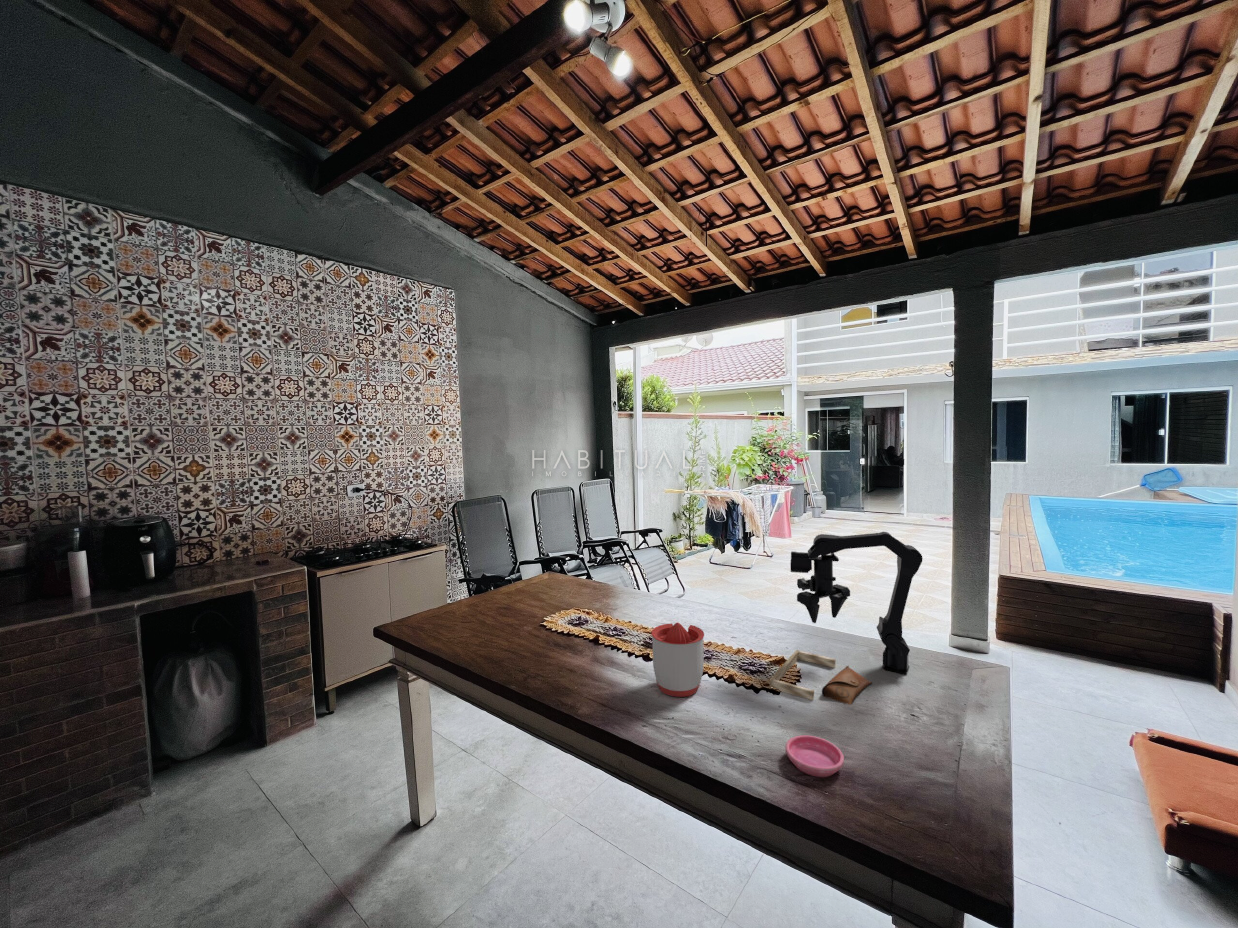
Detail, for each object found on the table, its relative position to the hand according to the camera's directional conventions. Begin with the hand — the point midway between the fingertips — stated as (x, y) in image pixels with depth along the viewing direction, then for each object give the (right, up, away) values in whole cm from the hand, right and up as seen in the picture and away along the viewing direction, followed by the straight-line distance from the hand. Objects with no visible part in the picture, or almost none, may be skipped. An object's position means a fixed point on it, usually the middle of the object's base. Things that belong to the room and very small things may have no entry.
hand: (824, 620), depth 166 cm
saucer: (-23, -17, -51) cm, 59 cm away
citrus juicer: (-50, -16, -15) cm, 54 cm away
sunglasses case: (0, -15, -18) cm, 24 cm away
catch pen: (-10, -14, -11) cm, 21 cm away
